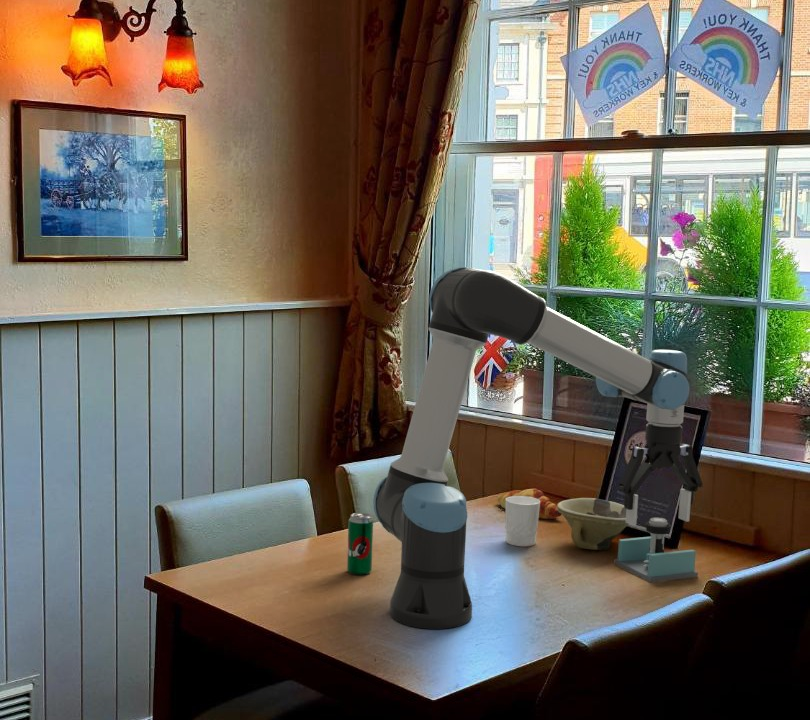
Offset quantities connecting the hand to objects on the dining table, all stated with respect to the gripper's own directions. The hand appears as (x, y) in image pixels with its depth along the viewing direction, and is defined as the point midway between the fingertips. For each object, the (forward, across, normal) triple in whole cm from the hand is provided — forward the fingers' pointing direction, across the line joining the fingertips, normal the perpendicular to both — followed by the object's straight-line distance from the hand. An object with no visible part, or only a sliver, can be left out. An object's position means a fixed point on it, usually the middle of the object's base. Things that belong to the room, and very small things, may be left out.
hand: (657, 522), depth 225 cm
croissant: (+11, -3, +49) cm, 51 cm away
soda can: (+11, -61, +18) cm, 64 cm away
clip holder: (+11, 0, 0) cm, 11 cm away
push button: (+10, 0, 0) cm, 10 cm away
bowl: (+11, -3, +18) cm, 22 cm away
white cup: (+11, -18, +26) cm, 34 cm away
